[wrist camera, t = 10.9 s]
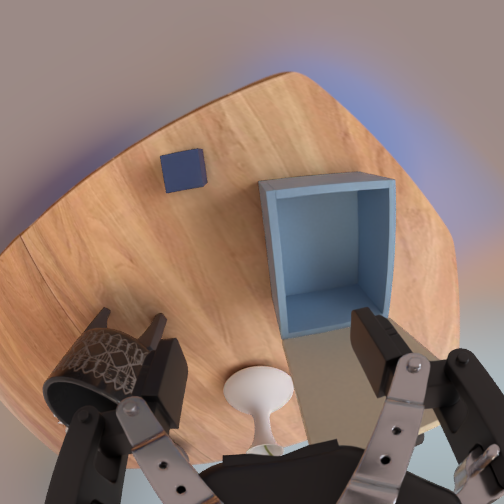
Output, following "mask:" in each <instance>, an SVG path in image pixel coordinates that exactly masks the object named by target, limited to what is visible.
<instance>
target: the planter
mask: <svg viewBox="0 0 504 504" xmlns="http://www.w3.org/2000/svg"><path fill="white" fill-rule="evenodd" d="M109 314H110V310H108V309H107V308H105V307H104V308H103V309H102V310H101V312H100V313H99V314H98V315H97V316H96V318H95V319H94V320H93V321H92V322H91V324H90V325H89V326H88V327H87V328H86V330H85V331H84V332H83V333H82V335H81V336H80V337H79V338H78V339H77V340H76V342H75V343H74V344H73V345H72V347H71V348H70V349H69V350H68V352H67V353H66V354H65V356H64V357H63V358H62V359H61V361H60V362H59V363H58V365H57V366H56V367H55V369H54V370H53V371H52V373H51V374H50V376H49V377H48V378H47V380H46V381H45V382H44V385H43V396H44V399H45V401H46V403H47V405H48V407H49V408H50V410H51V411H52V412H53V414H54V415H55V416H56V417H57V418H58V419H59V420H60V421H61V422H62V423H63V424H64V425H65V426H66V427H68V428H69V425H70V423H71V420H72V418H73V415H74V413H75V412H76V411H77V410H78V409H80V408H81V407H84V406H94V407H95V408H97V410H98V411H99V412H100V413H102V412H107V411H112V410H116V408H117V406H118V404H119V403H120V402H121V401H122V400H124V399H125V398H128V397H131V394H132V391H133V388H134V385H135V383H136V380H137V377H138V374H140V373H139V372H140V369H141V367H142V364H143V361H144V358H145V357H146V356H147V355H148V354H149V352H150V351H151V350H156V348H157V345H158V343H159V340H160V339H161V337H162V334H163V331H164V328H165V324H166V321H167V319H166V318H165V316H164V315H163V314H162V313H160V314H158V315H156V316H155V318H154V320H153V322H152V323H151V325H150V326H149V327H148V329H147V330H146V331H145V332H144V333H143V334H142V335H141V336H140V337H139V338H138V339H135V338H134V337H132V336H130V335H128V334H126V333H124V332H121V331H118V330H115V329H110V328H107V319H108V316H109Z"/></svg>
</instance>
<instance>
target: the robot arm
mask: <svg viewBox="0 0 504 504" xmlns="http://www.w3.org/2000/svg"><path fill="white" fill-rule="evenodd" d="M350 341H351V346H352V348H353V351H354V353H355V354H356V356H357V358H358V360H359V362H360V364H361V366H362V368H363V370H364V372H365V374H366V377H367V379H368V381H369V383H370V385H371V387H372V389H373V391H374V393H375V395H376V397H377V399H378V398H381V397H384V396H386V399H385V402H384V405H383V408H382V410H381V413H380V415H379V418H378V421H377V423H376V426H375V428H374V430H373V433H372V435H371V438H370V440H369V442H368V444H367V447H366V449H363V448H360V447H356V446H349V445H339V444H338V441H337V439H333V440H329V441H325V442H320V443H316V444H311V445H308V446H306V447H303V448H301V449H298V450H296V451H293V452H290V453H288V454H285V455H282V456H272V455H260V454H239V455H223V463H219V464H216V465H214V466H211V467H209V468H208V469H206V470H204V471H202V472H201V473H200V474H198V472H197V471H196V470H195V469H194V468H193V466H192V465H191V464H190V463H189V461H188V460H187V459H186V458H185V456H184V455H183V454H182V453H181V451H180V450H179V449H178V447H177V446H176V445H175V443H174V442H173V440H172V439H171V438H170V436H169V430H170V429H178V428H179V422H180V416H181V410H182V404H183V398H184V393H185V387H186V381H187V376H188V366H187V362H186V360H185V357H184V355H183V352H182V350H181V347H180V345H179V342H178V340H177V338H168V339H160V340H159V343H158V345H157V348H156V350H151V351H150V352H149V354H148V355H147V356H146V357H145V358H144V361H143V364H142V367H141V369H140V372H139V373H140V374H138V377H137V380H136V383H135V385H134V388H133V391H132V394H131V397H128V398H125V399H124V400H122V401H121V402H120V403H119V404H118V406H117V408H116V410H112V411H107V412H102V413H100V412H99V411H98V410H97V408H95V407H94V406H84V407H81V408H80V409H78V410H77V411H76V412H75V413H74V415H73V418H72V420H71V423H70V425H69V428H68V431H67V433H66V436H65V439H64V442H63V444H62V447H61V450H60V453H59V456H58V459H57V462H56V465H55V469H54V471H53V475H52V478H51V482H50V485H49V489H48V492H47V496H46V500H45V504H120V502H121V496H122V488H123V483H124V476H125V471H126V465H127V460H128V454H133V456H134V457H135V459H136V461H137V463H138V465H139V466H140V468H141V470H142V471H143V473H144V474H145V476H146V478H147V480H148V481H149V483H150V484H151V486H152V488H153V489H154V491H155V492H156V494H157V495H158V497H159V498H160V500H161V501H162V503H163V504H491V503H493V502H494V501H496V500H497V499H499V498H500V497H502V496H503V495H504V395H503V393H502V392H501V390H500V389H499V387H498V386H497V385H496V383H495V382H494V381H493V379H492V378H491V376H490V375H489V374H488V372H487V371H486V369H485V368H484V367H483V365H482V364H481V363H480V362H479V360H478V359H477V358H476V356H475V355H474V354H473V353H472V352H471V351H469V350H467V349H462V348H459V349H454V350H452V351H451V352H450V353H449V355H448V357H447V359H446V360H437V361H429V360H428V359H427V358H426V357H425V356H423V355H421V354H418V353H413V352H412V351H411V349H410V348H409V346H408V345H407V344H406V342H405V341H404V340H403V338H402V337H401V336H400V334H399V333H398V332H397V330H396V329H395V328H394V326H393V325H392V324H391V322H390V321H389V320H388V319H387V318H385V317H383V316H382V315H380V314H379V315H376V316H375V315H374V314H373V312H372V311H371V310H370V308H369V307H363V308H359V309H355V310H352V312H351V328H350ZM431 408H432V409H433V411H434V413H435V415H436V417H437V419H438V421H439V423H440V425H441V427H442V428H443V431H444V433H445V435H446V437H447V440H448V442H449V444H450V446H451V448H452V451H453V453H454V455H455V457H456V460H457V462H458V464H459V466H458V467H457V468H456V470H455V473H454V482H455V489H454V492H453V491H451V490H449V489H447V488H444V487H442V486H439V485H437V484H435V483H432V482H430V481H428V480H426V479H423V478H421V477H419V476H417V475H415V474H413V473H411V472H408V471H406V470H407V467H408V465H409V462H410V459H411V456H412V453H413V450H414V446H415V443H416V440H417V436H418V433H419V429H420V425H421V421H422V417H423V413H424V409H431Z"/></svg>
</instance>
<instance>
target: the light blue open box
mask: <svg viewBox="0 0 504 504" xmlns="http://www.w3.org/2000/svg"><path fill="white" fill-rule="evenodd" d="M258 185H259V192H260V200H261V208H262V216H263V224H264V232H265V240H266V249H267V257H268V266H269V274H270V283H271V292H272V300H273V304H274V309H275V313H276V317H277V322H278V326H279V330H280V335H281V339H282V340H284V339H290V338H296V337H302V336H308V335H313V334H319V333H324V332H329V331H334V330H339V329H344V328H348V327H351V312H352V310H355V309H359V308H363V307H369V308H370V310H371V311H372V312H373V314H374V315H375V316H376V315H379V314H380V315H382V316H383V317H385V318H388V314H389V307H390V299H391V290H392V280H393V268H394V254H395V232H396V185H395V179H390V178H386V177H382V176H377V175H373V174H368V173H363V172H346V173H332V174H320V175H309V176H299V177H290V178H281V179H272V180H264V181H258Z"/></svg>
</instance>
